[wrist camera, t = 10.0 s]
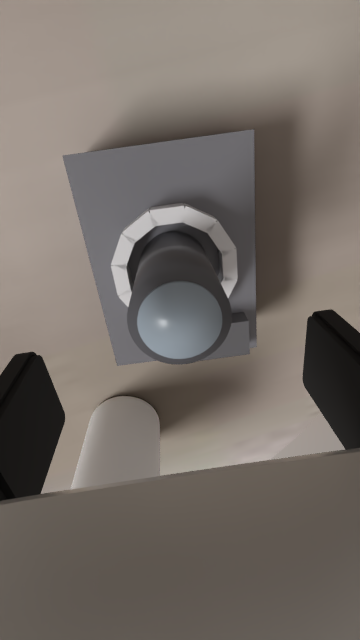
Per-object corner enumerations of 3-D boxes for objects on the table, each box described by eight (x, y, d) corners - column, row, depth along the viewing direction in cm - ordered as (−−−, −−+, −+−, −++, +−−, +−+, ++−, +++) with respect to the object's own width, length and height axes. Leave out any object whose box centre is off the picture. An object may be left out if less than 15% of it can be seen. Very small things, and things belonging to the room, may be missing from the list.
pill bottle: (168, 400, 35) (172, 546, 22) (150, 449, 38) (145, 602, 25) (97, 386, 34) (56, 534, 20) (85, 438, 37) (43, 594, 24)
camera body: (80, 157, 24) (54, 155, 18) (236, 135, 24) (261, 126, 18) (123, 336, 31) (114, 377, 25) (242, 320, 31) (262, 357, 25)
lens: (133, 236, 22) (116, 279, 13) (204, 226, 22) (230, 264, 13) (145, 301, 24) (136, 373, 16) (210, 292, 24) (235, 360, 16)
